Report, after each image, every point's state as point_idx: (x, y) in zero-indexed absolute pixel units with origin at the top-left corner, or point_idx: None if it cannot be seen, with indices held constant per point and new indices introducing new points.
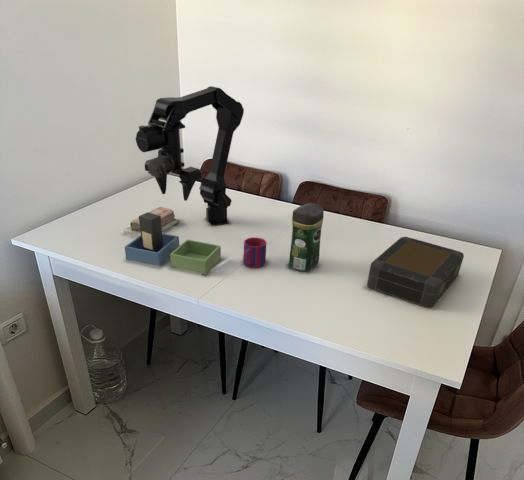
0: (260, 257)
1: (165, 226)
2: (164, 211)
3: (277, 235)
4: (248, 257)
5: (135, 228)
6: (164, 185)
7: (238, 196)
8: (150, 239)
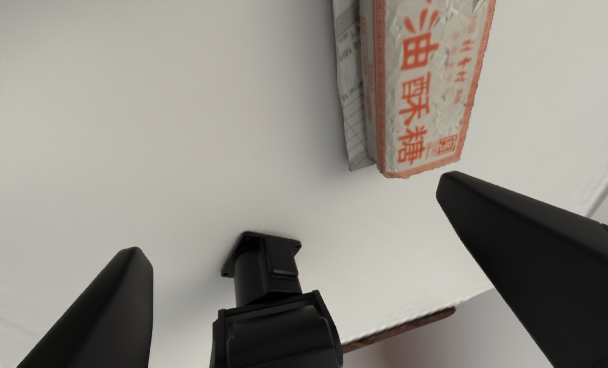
0: None
1: (351, 84)
2: (414, 144)
3: (36, 334)
4: None
5: None
6: (500, 258)
7: (341, 332)
8: None
